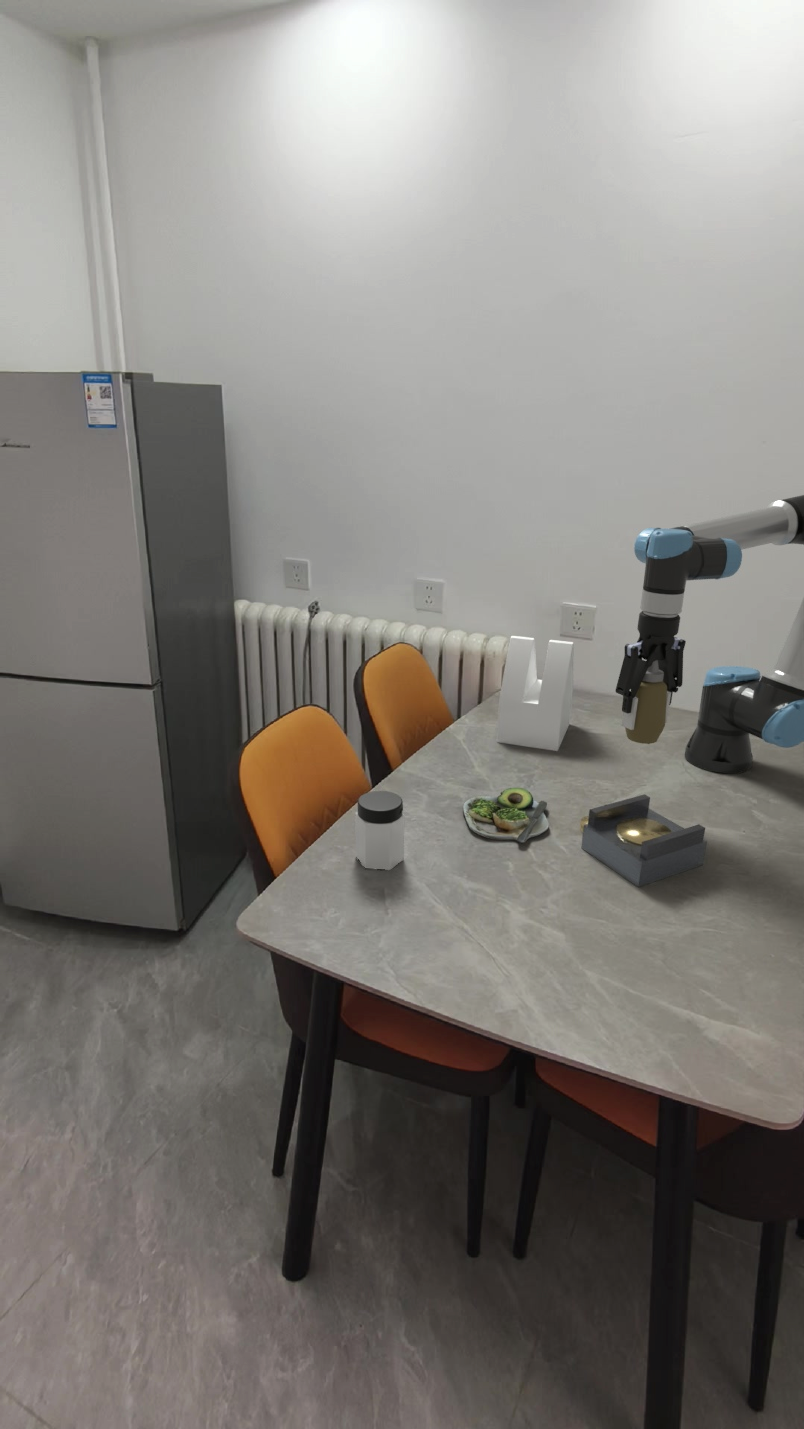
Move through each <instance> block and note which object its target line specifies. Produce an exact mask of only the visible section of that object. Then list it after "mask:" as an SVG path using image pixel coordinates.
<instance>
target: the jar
mask: <svg viewBox="0 0 804 1429" xmlns="http://www.w3.org/2000/svg"><path fill="white" fill-rule="evenodd" d="M403 802H404V801H403V798H402V797H401V796H400V795H399V794H397V793H395V792H391V791H387V790H373V791H368V792H366V793H365V792H364V793H363V794H362V795H360V796H359V797H358V798H357V811H355V813H354V815H355V817H354V819H355V820H354V823H355V824H354V826H355V830H354V832H355V835H354V836H355V837H354V838H355V842H354V843H355V844H354V845H355V855H356V856H357V858H358V859H359V860H360V862H361V863H362V864H363V865H364V867H366V868H376V869H375V870H377V869H385V870H384V871H391V870H392V869H393V868H394V867H396V866H397V865H398V863H399V864H400V863H401V862H402V861H404V858H405V828H406V827H405V824H406V822H405V821H406V820H405V819H406V817H405V816H406V815H405V814H404V813H403V811H404V803H403ZM357 858H356V859H357ZM358 859H357V860H358ZM360 862H359V863H360ZM361 863H360V864H361ZM362 864H361V865H362ZM363 865H362V866H363ZM364 867H363V868H364Z"/></svg>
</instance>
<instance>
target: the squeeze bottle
mask: <svg viewBox="0 0 804 1429" xmlns="http://www.w3.org/2000/svg"><path fill="white" fill-rule="evenodd" d="M663 676H664V672H663V671H661V670H659V667H658V660H656V661H654V662H653V663H652V665H651V666H650V667H648V669H647V672H646V674H645V676H644V678H643V680H642V682H641V685H640V687H639V689H638V691H637V693H636V696H635V697H636V698H638V703H637V711H636V718H635V725H634V729H633V730H630V729H628V728H626V727H624V728H625V733H626V737H627V739H628V740H630V741H632V742H635V743H637V744H647V745H650V744H655V743H657V742H658V739H659V738H660V736H661V734H662V732H663V730H664V729H665V726H666V723H665V721H666V698H667V685H666V684H665V683H664V682H663Z"/></svg>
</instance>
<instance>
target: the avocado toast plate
mask: <svg viewBox="0 0 804 1429" xmlns="http://www.w3.org/2000/svg"><path fill="white" fill-rule="evenodd" d="M547 807H548V802H546V801H545V800H541V801H536V800H534V797H533V795H532V793H531V792H530V791H528V790H527V789H525V788H522V787H509V788H506V789H503V791H501V792H500V794H499V795H498V796H487V795H485V796H481V795H480V796H474V797H471V798H469V799H467V800H466V801H465V802H464V803H463V805H462V814H463V815H464V817H465V820H466V824H467V825H468V827H469V829H470V830H471V831H472V832H473V833H475V834H477V835H478V836H481V837H483V838H486V839H490V840H496V841H516V842H518V843H519V844H520V843H521V844H522V843H526V842H527V840H528V839H530V838H533V837H537V836H539V835H541V834H543V833H545V832H547V830H548V829H549V826H550V824H549V821H548V819H547V817H546V814H545V813H544V811H545V810H546V809H547ZM476 821H479V822H483V823H489V824H492V825H494V826H496V827H497V828H496V829H497V830H499V831H498V832H490V831H487V830H485V829H483V828H481V827H480V826H479V825H478V824H477V823H476Z"/></svg>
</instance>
